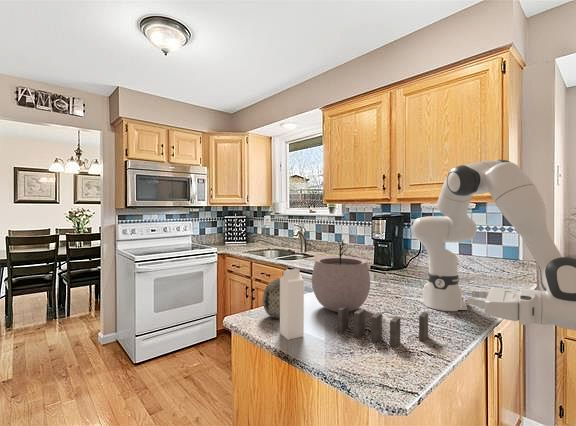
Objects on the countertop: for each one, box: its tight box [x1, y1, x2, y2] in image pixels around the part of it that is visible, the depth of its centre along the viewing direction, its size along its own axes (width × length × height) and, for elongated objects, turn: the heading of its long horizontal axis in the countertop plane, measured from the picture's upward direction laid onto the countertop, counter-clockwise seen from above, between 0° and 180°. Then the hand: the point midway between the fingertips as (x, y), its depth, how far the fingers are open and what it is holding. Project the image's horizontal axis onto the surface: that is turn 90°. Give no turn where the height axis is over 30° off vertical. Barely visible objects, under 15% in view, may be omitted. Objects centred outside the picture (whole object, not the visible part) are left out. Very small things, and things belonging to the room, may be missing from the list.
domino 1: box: [337, 306, 350, 334], centre depth 109 cm, size 5×2×8 cm, turn 143°
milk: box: [279, 268, 305, 341], centre depth 105 cm, size 6×6×22 cm
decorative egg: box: [262, 278, 280, 319], centre depth 121 cm, size 12×12×15 cm
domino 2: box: [353, 308, 366, 339], centre depth 105 cm, size 5×2×8 cm, turn 143°
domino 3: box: [370, 312, 383, 344], centre depth 102 cm, size 5×2×8 cm, turn 143°
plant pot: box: [311, 237, 371, 313], centre depth 130 cm, size 24×24×30 cm
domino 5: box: [418, 311, 429, 342], centre depth 102 cm, size 5×2×8 cm, turn 143°
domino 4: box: [389, 315, 402, 349], centre depth 98 cm, size 5×2×8 cm, turn 143°
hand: (469, 296), depth 94 cm, fingers open, 8 cm apart
